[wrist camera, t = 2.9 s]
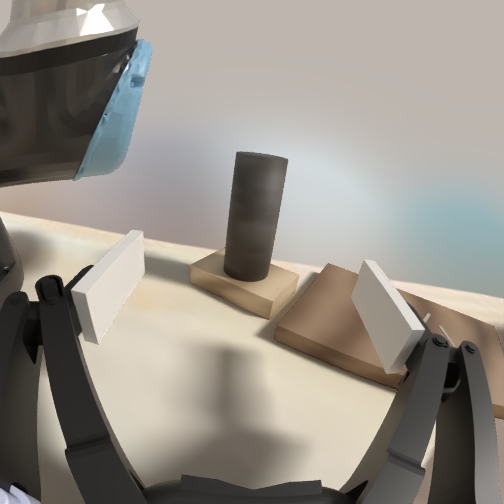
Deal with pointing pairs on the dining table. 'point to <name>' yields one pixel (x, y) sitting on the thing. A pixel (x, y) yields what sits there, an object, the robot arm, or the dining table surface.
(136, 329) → the dining table surface
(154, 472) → the dining table surface
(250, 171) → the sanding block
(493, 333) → the walnut board
